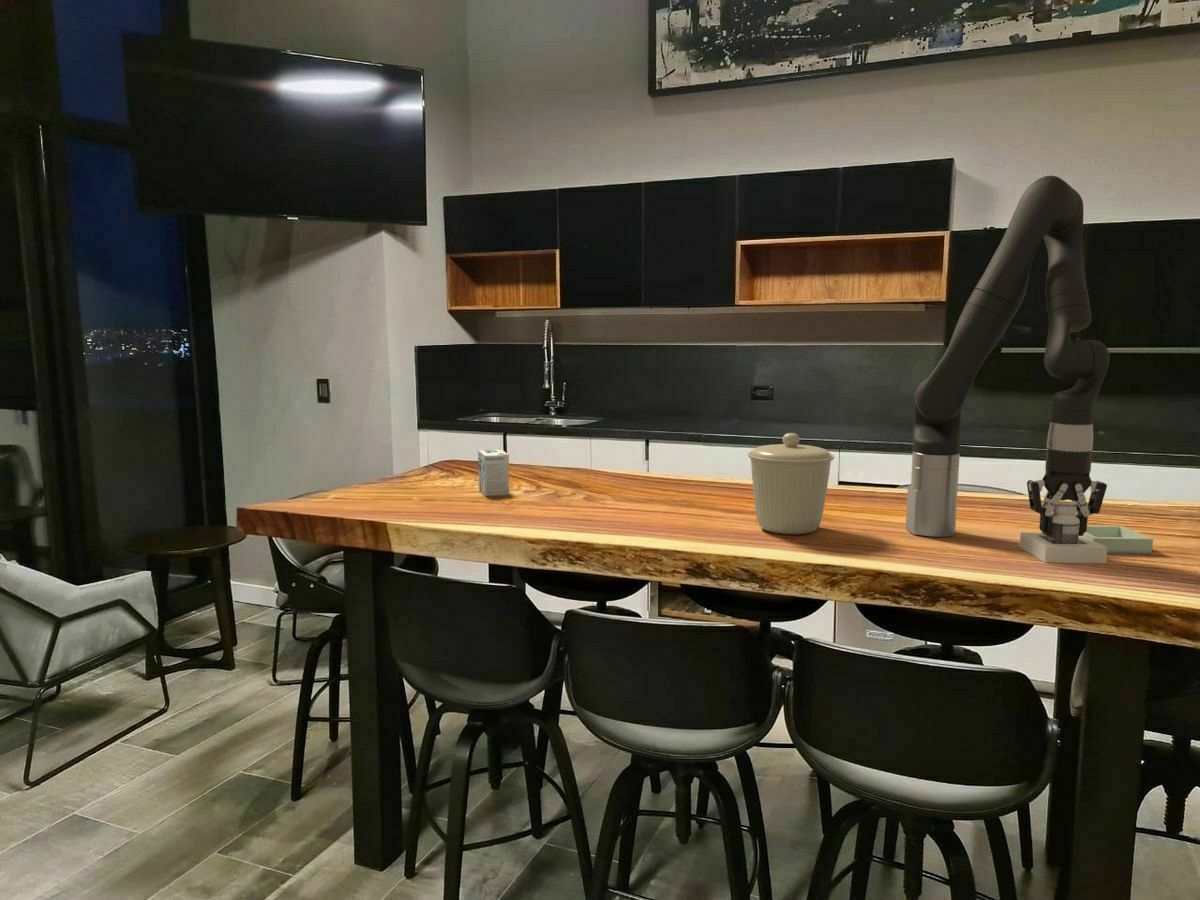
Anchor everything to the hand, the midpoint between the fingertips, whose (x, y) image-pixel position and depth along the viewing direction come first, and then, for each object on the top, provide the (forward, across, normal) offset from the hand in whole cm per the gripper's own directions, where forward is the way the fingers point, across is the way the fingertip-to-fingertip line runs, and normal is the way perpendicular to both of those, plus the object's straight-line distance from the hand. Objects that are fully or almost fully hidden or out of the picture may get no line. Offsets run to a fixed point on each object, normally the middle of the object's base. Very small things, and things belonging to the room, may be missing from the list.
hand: (1062, 534), depth 162 cm
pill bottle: (+4, 0, 0) cm, 4 cm away
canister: (+4, -49, +18) cm, 52 cm away
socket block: (+4, 0, 0) cm, 4 cm away
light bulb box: (+5, -121, +57) cm, 134 cm away
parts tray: (+4, +12, +7) cm, 15 cm away
